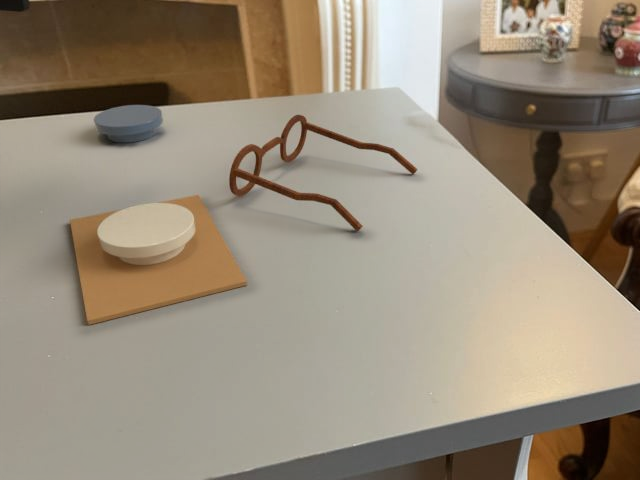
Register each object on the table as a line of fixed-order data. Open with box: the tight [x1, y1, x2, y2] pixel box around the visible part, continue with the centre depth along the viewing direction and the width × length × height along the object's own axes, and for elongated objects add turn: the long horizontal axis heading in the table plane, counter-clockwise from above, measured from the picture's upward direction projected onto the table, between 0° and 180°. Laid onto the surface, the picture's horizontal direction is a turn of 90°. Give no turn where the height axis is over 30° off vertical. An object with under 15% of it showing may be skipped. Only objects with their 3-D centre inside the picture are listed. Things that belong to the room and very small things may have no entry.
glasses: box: [228, 114, 418, 232], centre depth 60 cm, size 13×13×5 cm
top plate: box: [97, 202, 196, 265], centre depth 51 cm, size 7×7×2 cm
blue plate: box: [93, 104, 164, 144], centre depth 73 cm, size 7×7×2 cm
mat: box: [69, 194, 248, 326], centre depth 52 cm, size 16×11×1 cm
